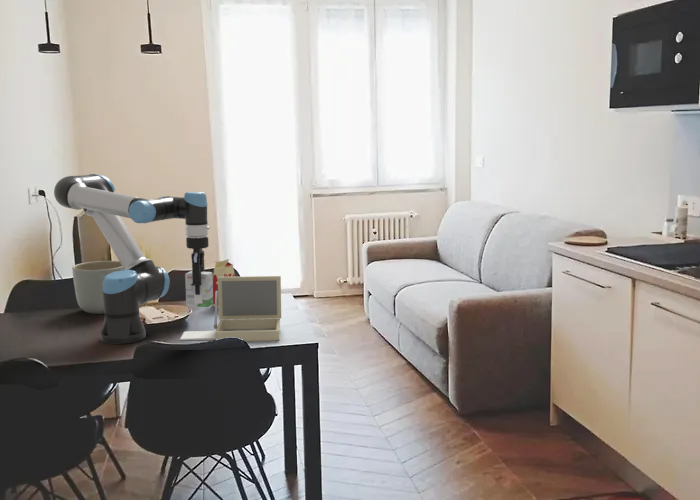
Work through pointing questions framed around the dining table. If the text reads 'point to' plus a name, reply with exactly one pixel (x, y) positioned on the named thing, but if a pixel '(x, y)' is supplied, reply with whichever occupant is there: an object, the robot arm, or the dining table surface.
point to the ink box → (206, 289)
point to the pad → (198, 335)
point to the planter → (92, 283)
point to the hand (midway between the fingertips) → (199, 300)
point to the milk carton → (221, 274)
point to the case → (248, 307)
